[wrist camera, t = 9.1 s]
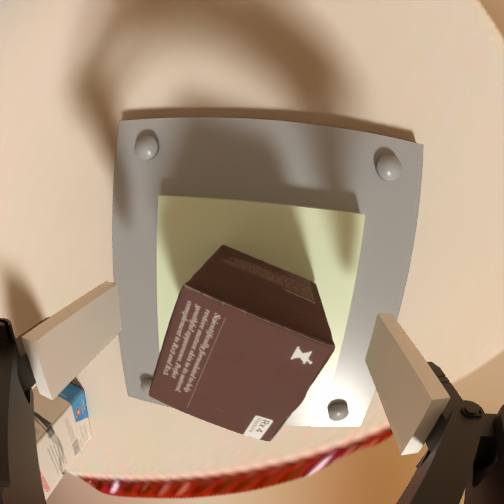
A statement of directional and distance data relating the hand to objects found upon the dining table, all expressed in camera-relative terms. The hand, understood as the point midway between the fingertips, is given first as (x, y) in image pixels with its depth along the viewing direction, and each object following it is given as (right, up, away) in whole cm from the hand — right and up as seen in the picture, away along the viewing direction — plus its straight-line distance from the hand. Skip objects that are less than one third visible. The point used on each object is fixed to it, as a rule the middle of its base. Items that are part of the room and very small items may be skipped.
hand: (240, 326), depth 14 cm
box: (0, 0, +4) cm, 4 cm away
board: (+1, +1, +6) cm, 6 cm away
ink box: (-20, -14, +11) cm, 26 cm away
